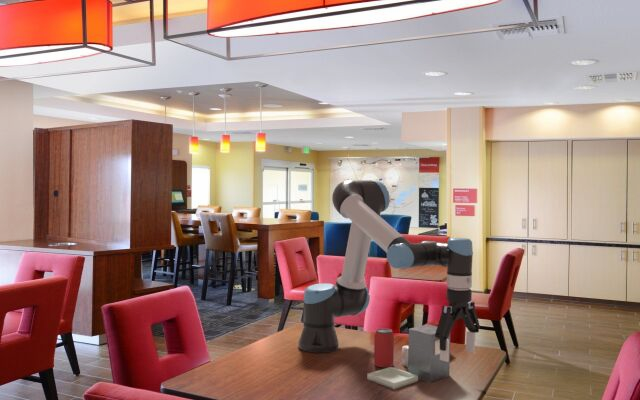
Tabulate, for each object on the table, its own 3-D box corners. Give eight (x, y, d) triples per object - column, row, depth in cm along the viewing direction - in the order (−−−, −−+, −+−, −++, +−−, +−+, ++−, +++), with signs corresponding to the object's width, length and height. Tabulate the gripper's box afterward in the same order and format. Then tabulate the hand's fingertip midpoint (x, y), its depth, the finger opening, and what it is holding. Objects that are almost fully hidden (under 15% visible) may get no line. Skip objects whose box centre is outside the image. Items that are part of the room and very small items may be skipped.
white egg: (398, 364, 194) (399, 347, 193) (408, 361, 197) (408, 344, 197) (410, 368, 190) (410, 350, 190) (419, 365, 193) (420, 347, 193)
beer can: (392, 369, 188) (393, 333, 188) (373, 367, 190) (373, 332, 189) (394, 363, 195) (394, 328, 194) (375, 361, 196) (375, 327, 196)
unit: (406, 374, 183) (407, 328, 183) (426, 368, 190) (427, 324, 189) (430, 382, 176) (431, 334, 176) (450, 375, 182) (451, 329, 182)
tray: (367, 379, 178) (367, 373, 178) (391, 372, 185) (391, 366, 185) (394, 389, 169) (394, 383, 169) (417, 381, 177) (418, 375, 177)
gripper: (444, 294, 163) (443, 367, 163) (492, 285, 179) (490, 352, 180) (423, 290, 168) (422, 361, 169) (471, 282, 185) (470, 346, 185)
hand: (457, 356), depth 174 cm, fingers open, 13 cm apart
